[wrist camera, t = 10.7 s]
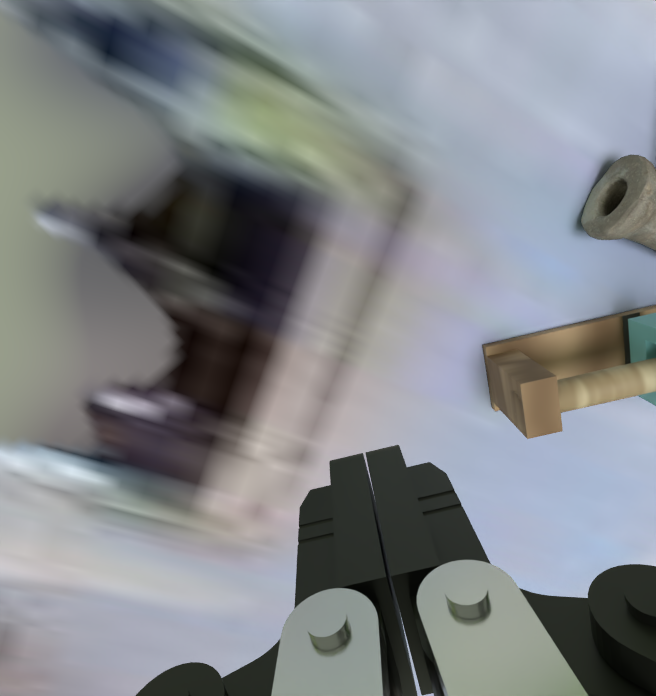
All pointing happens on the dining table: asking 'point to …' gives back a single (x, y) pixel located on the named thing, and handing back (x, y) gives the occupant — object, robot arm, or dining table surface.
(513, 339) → the wooden dowel plank
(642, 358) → the teal flat board
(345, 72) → the dining table surface
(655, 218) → the pipe
